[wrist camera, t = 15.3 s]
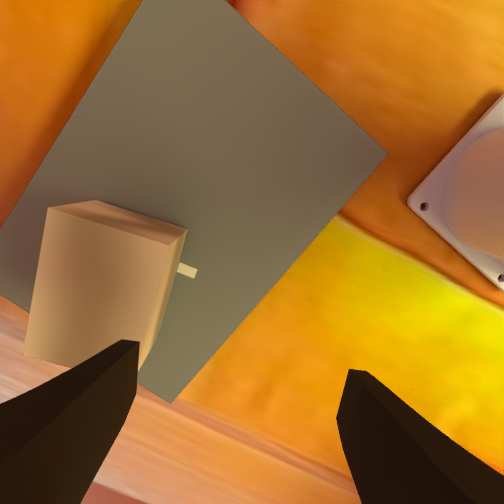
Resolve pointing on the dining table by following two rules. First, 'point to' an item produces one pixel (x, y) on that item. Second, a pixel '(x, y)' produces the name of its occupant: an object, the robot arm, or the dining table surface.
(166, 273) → the block
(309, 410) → the dining table surface
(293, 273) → the dining table surface
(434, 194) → the robot arm
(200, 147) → the board
